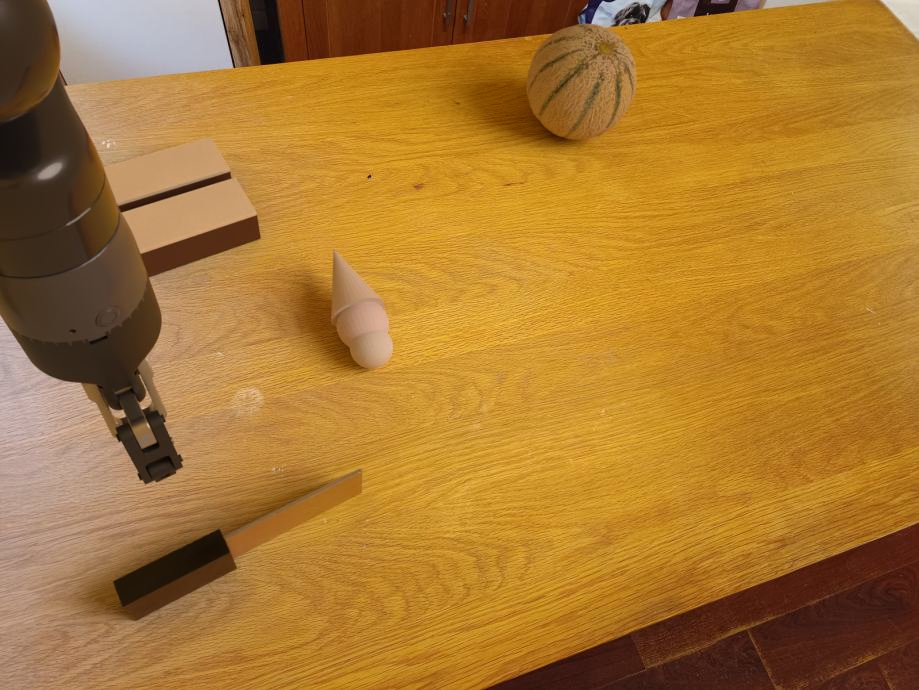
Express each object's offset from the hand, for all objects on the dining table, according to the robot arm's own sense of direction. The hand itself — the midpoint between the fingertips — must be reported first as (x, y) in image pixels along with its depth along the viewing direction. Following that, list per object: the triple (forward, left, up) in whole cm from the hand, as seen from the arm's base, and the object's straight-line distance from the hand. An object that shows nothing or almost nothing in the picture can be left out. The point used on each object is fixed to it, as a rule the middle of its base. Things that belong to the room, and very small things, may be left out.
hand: (141, 424), depth 53 cm
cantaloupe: (+66, +30, -19) cm, 75 cm away
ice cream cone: (+23, +13, -19) cm, 32 cm away
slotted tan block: (+12, +36, -18) cm, 42 cm away
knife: (+4, -5, -18) cm, 20 cm away
